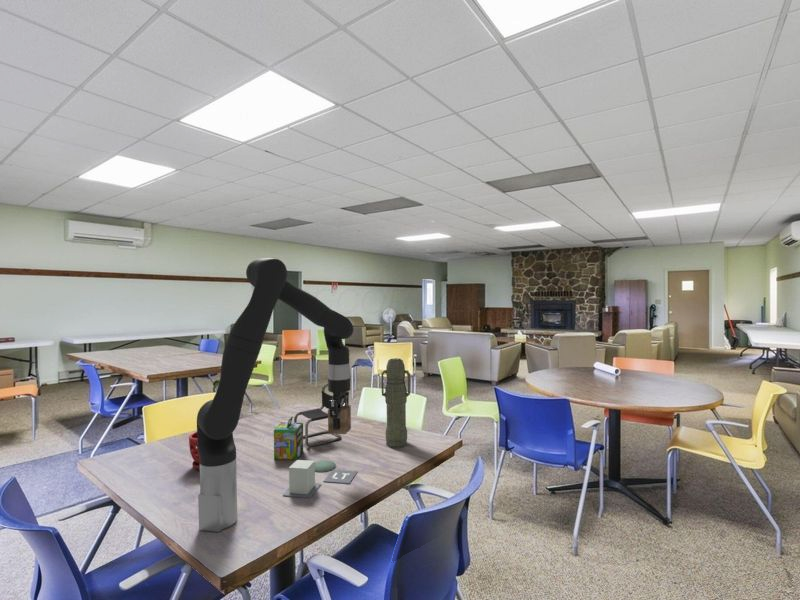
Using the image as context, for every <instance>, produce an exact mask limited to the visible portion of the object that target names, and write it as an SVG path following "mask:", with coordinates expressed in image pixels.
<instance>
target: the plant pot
mask: <svg viewBox="0 0 800 600" xmlns="http://www.w3.org/2000/svg"><path fill="white" fill-rule="evenodd" d="M188 444H189V445H188V446H189V452H190V455H191V458H192V459H193V461H192V468H194V469H196V470H199V471H200V458H199V452H198V443H197V431H195V432H193V433H191V434H190V435H189V437H188Z"/></svg>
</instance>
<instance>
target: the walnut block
mask: <svg viewBox="0 0 800 600" xmlns="http://www.w3.org/2000/svg"><path fill="white" fill-rule="evenodd" d="M327 414H328V418H327V426H328V427H327V430H328V433H327V434H333V435H334V434H339V435H347V434H348V432H350V431H351V429H352V405H350V404H349V405H347V406H343V408H342V410H341V411H340V429H339V430H334V429H333V418H330V410H329V409H328V408H327ZM334 414H335V411H334Z"/></svg>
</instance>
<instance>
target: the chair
mask: <svg viewBox="0 0 800 600" xmlns="http://www.w3.org/2000/svg"><path fill="white" fill-rule="evenodd" d="M326 388H328V383H325V384H324V385H323V386H322V388H321V406H320V407H319V408H314V409H308V410H304V411H299V412H297V413H296V414H295V415H294V416H293V418H294V419H293V423H298V421H297V419H298V417H299V416H304V417H305V418H307V419H308V420H307V421H306V422H305V425H304V427H305V428H304V429H305V430H304V432H305V433H304V434H305V435H304V434H303V439H305V445H306V446H307V447H309V448H312V447H313V448H314V447H316V446H317V447H318V446H321V445H325V444H329V443H334V442H337V441H340V440H341V439H342V436H341V434H333V435H334V436H335V438H332V439H327V440H324V441H319V442H315V443H310V442H309V438H310V437H311V438H312V437H314V436H319V435H324V434H329V433H328V429H327V430H323V431H317V432H314V433H310V434H309V424H310V423H311V422H315V421H321V420H325V419H328V412H325V411H324V408H326V409H327V410H328V409H329V400H332V397H333V395H331V394H328V393H326V392H325V389H326Z"/></svg>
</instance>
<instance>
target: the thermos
mask: <svg viewBox="0 0 800 600" xmlns="http://www.w3.org/2000/svg"><path fill="white" fill-rule="evenodd" d="M405 368H406V367H405V363H404V360H403V359H401V358H398V357H397V358H390V359H388V360H387V363H386V369H384V370H383V371H382V372H381V375H380V376H381V396H382V397H384V399H385V404H386V428H385V445H386V447H388V448H392V449H400V448H403V447H406V446H407V445H408V440H407V439H408V429H407V422H406V421H407V419H406V418H407V416H406V414H407V411H406V409H407V408H406V404H407V402H408V401H407V399H408V397H409V396H410V395H411V373H410V372H409V370H406V369H405ZM384 374H385V375H386V385H385V388H384ZM406 375H407V386H406V381H405V379H406V378H405V377H406ZM384 389H385V390H384Z"/></svg>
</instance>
